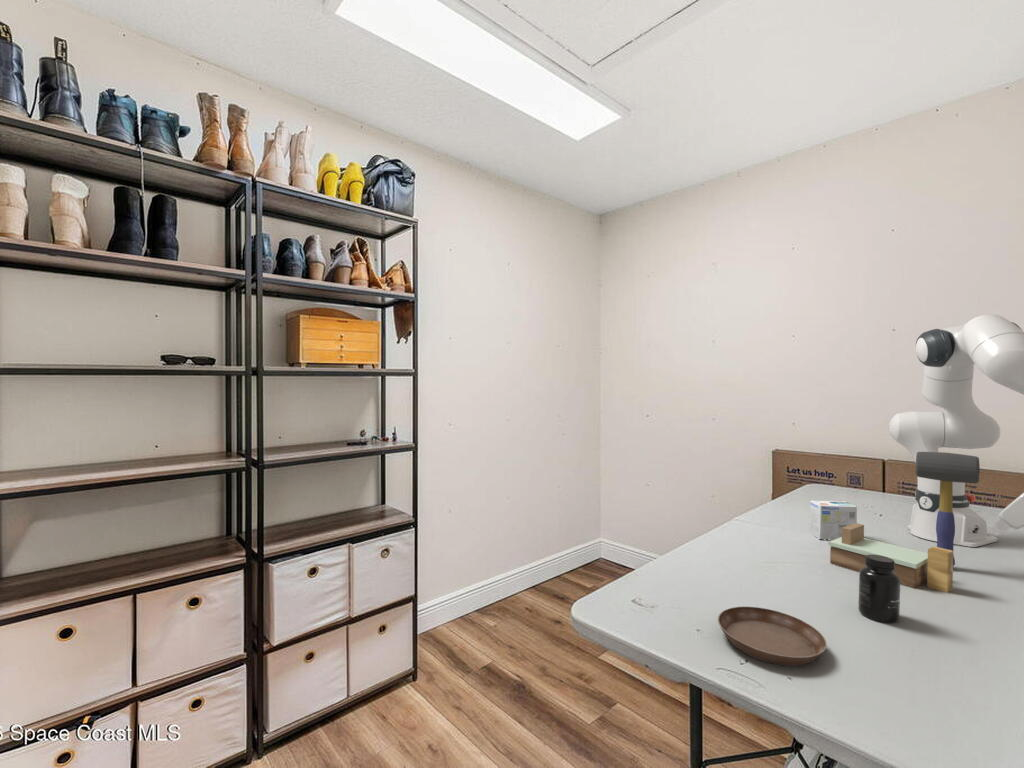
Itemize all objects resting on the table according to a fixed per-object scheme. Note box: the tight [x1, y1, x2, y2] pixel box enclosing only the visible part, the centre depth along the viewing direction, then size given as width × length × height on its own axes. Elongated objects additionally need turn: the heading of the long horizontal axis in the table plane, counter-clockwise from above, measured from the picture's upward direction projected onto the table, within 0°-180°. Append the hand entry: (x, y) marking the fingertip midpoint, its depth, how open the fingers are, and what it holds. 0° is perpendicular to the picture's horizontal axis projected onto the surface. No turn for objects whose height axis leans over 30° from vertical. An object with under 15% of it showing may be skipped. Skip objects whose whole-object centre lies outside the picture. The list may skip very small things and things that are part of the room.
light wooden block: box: [926, 545, 954, 594], centre depth 114 cm, size 4×4×9 cm
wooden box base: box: [829, 546, 928, 589], centre depth 124 cm, size 11×18×4 cm, turn 33°
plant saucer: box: [717, 606, 828, 667], centre depth 90 cm, size 18×18×3 cm
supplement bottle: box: [858, 554, 901, 624], centre depth 101 cm, size 7×7×12 cm
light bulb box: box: [809, 500, 858, 541], centre depth 150 cm, size 11×7×11 cm, turn 84°
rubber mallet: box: [915, 451, 981, 567], centre depth 127 cm, size 12×8×30 cm, turn 47°
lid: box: [828, 523, 928, 569], centre depth 124 cm, size 12×19×5 cm, turn 33°
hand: (1000, 528), depth 105 cm, fingers open, 8 cm apart
